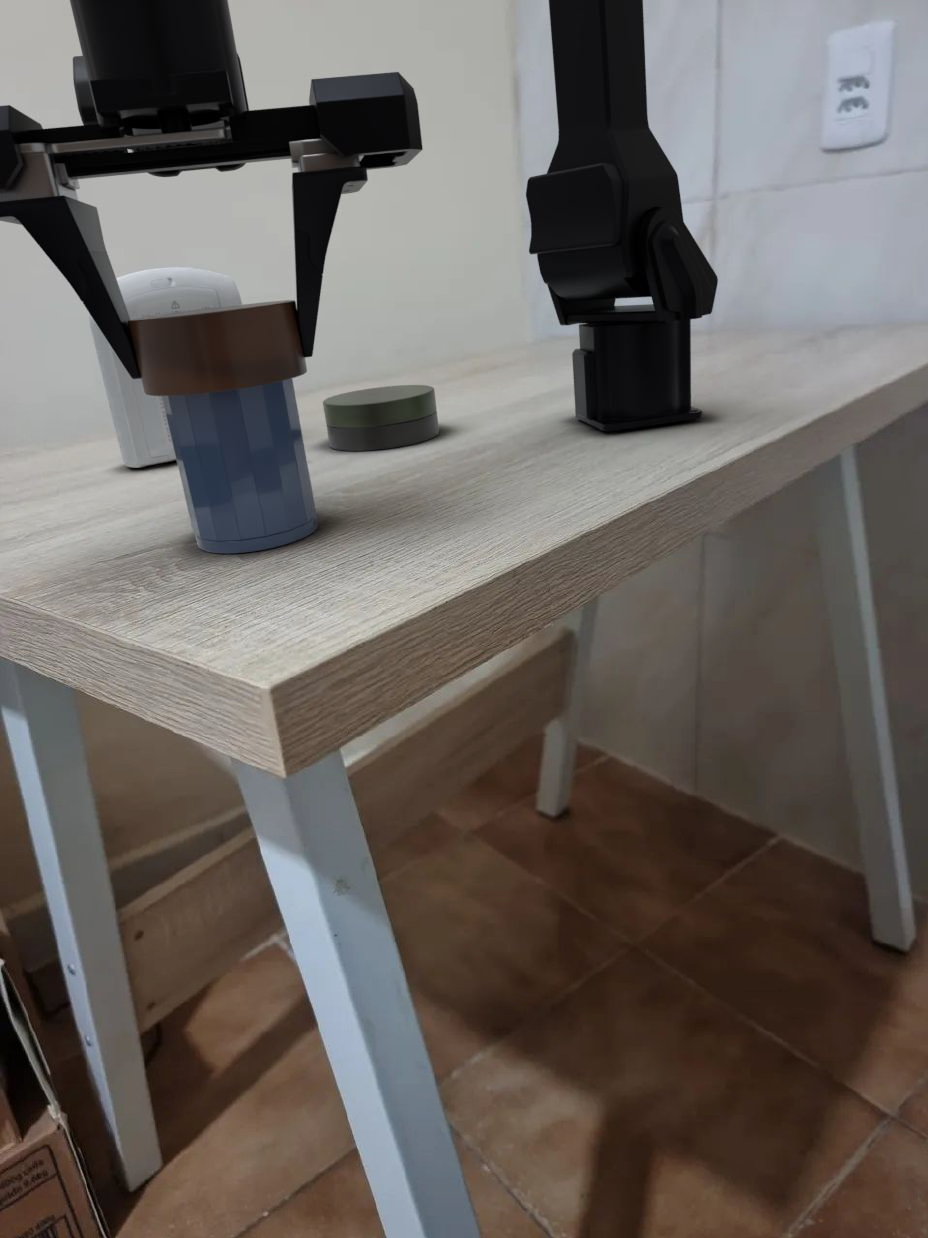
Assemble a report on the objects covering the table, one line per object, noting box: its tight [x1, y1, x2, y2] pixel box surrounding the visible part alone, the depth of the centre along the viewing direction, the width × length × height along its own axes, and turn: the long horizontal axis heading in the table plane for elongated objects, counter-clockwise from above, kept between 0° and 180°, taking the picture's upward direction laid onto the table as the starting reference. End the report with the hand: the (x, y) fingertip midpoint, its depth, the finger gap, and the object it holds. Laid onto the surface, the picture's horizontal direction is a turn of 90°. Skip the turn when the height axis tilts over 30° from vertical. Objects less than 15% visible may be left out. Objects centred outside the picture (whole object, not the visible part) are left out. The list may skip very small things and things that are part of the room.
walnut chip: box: [128, 299, 308, 396], centre depth 38 cm, size 7×7×3 cm
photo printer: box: [88, 266, 243, 469], centre depth 60 cm, size 10×4×12 cm, turn 123°
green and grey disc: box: [322, 384, 440, 452], centre depth 60 cm, size 8×8×3 cm
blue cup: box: [162, 378, 319, 554], centre depth 40 cm, size 6×6×7 cm
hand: (225, 366), depth 38 cm, fingers closed on walnut chip, 7 cm apart
